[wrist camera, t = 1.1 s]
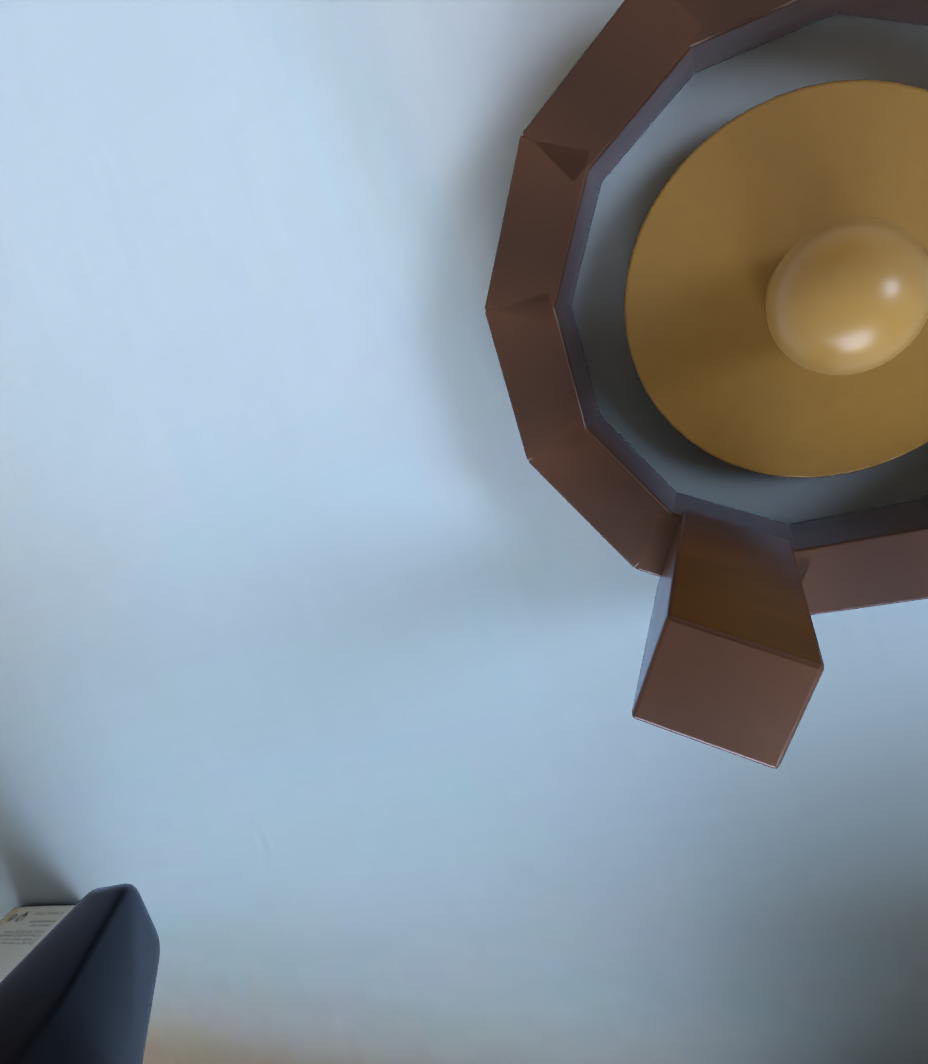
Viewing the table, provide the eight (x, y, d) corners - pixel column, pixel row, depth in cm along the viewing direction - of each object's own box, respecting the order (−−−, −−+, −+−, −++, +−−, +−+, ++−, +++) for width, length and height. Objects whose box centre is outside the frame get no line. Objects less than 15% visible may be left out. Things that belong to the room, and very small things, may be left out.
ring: (1378, -28, 12) (2284, -457, 5) (994, 659, 18) (1184, 919, 10) (597, -112, 15) (490, -456, 8) (465, 496, 21) (329, 610, 13)
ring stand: (1104, 127, 14) (1371, 19, 8) (923, 510, 17) (1027, 625, 11) (688, 62, 16) (670, -64, 10) (590, 419, 19) (533, 479, 13)
